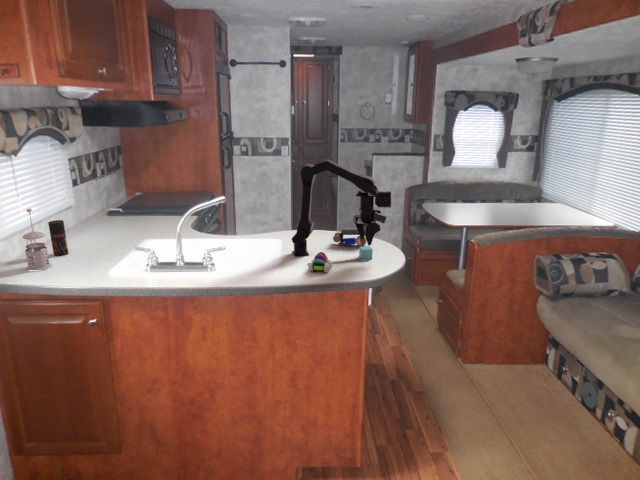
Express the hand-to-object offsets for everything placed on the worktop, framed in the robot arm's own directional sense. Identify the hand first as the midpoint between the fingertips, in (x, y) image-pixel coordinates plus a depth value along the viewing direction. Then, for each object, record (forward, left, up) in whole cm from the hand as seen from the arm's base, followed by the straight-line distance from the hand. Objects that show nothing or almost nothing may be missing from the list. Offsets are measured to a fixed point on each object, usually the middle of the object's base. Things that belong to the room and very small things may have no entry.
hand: (365, 242), depth 215 cm
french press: (-22, -135, -7) cm, 137 cm away
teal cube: (0, 0, -7) cm, 7 cm away
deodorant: (-38, -130, -7) cm, 136 cm away
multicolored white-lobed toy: (+10, -23, -7) cm, 26 cm away
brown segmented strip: (+3, -14, -7) cm, 16 cm away
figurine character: (-19, -1, -7) cm, 20 cm away
